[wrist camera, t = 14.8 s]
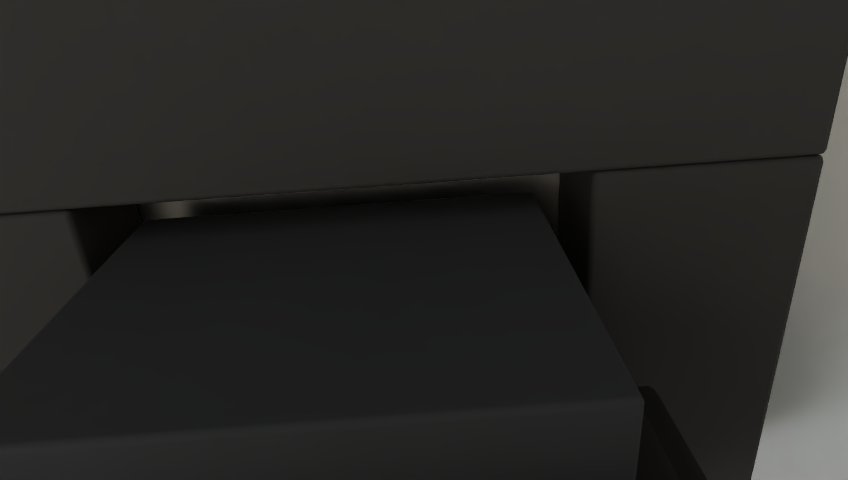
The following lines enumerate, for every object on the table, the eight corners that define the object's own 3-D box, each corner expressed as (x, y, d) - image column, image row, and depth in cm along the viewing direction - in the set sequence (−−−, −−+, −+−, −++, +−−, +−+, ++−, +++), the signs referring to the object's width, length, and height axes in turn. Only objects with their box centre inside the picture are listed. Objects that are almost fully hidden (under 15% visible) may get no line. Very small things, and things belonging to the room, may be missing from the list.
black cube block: (533, 189, 10) (649, 401, 5) (529, 475, 12) (603, 780, 8) (143, 218, 10) (-85, 454, 5) (224, 497, 12) (121, 815, 8)
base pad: (844, -408, 7) (984, -523, 6) (697, 447, 13) (742, 523, 12) (-287, -324, 7) (-505, -411, 6) (71, 492, 14) (20, 575, 12)
